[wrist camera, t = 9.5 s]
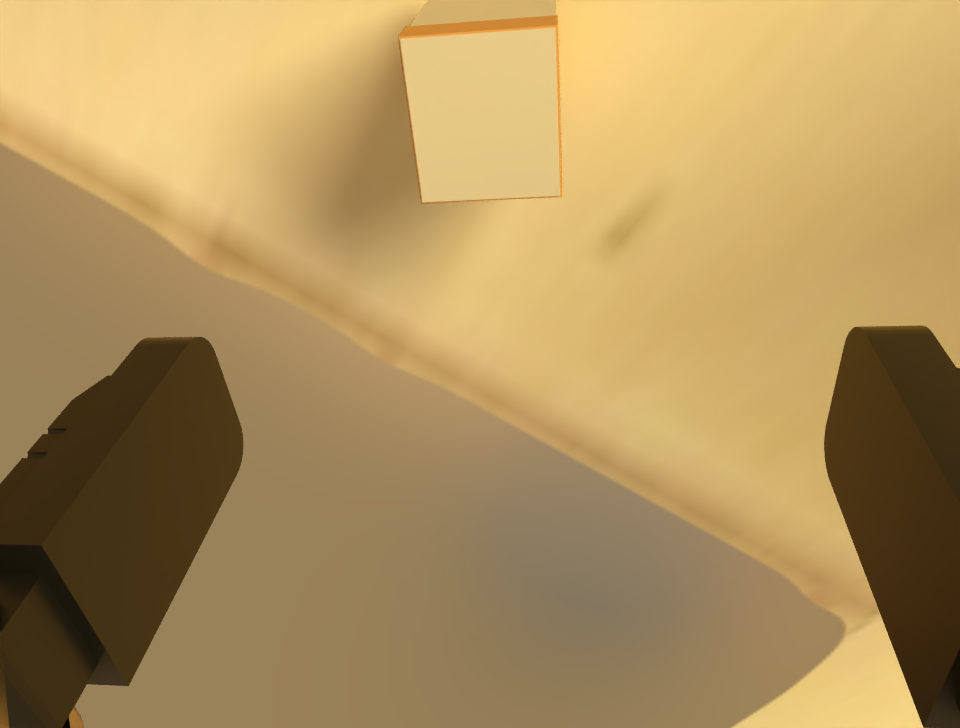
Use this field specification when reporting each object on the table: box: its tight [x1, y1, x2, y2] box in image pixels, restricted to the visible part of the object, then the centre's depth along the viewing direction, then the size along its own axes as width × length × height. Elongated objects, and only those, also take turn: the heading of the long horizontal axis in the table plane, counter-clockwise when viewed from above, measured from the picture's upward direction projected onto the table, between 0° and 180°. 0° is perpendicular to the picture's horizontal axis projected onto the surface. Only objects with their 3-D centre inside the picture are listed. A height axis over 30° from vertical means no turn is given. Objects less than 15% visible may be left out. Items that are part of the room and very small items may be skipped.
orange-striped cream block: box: [398, 0, 562, 203], centre depth 24 cm, size 4×5×7 cm
